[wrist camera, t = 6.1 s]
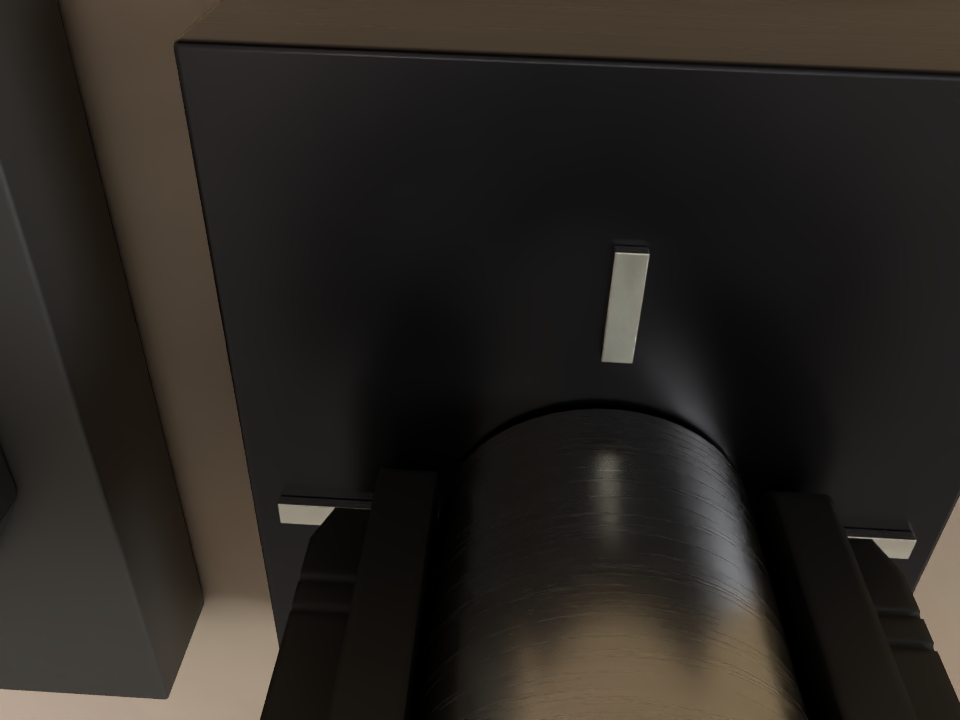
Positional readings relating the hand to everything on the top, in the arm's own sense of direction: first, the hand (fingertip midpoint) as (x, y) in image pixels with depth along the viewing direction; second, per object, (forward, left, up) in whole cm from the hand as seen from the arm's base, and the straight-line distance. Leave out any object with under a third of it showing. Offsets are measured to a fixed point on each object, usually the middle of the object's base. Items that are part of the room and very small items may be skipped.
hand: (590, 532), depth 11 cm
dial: (0, 0, 0) cm, 0 cm away
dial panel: (0, 0, -3) cm, 3 cm away
